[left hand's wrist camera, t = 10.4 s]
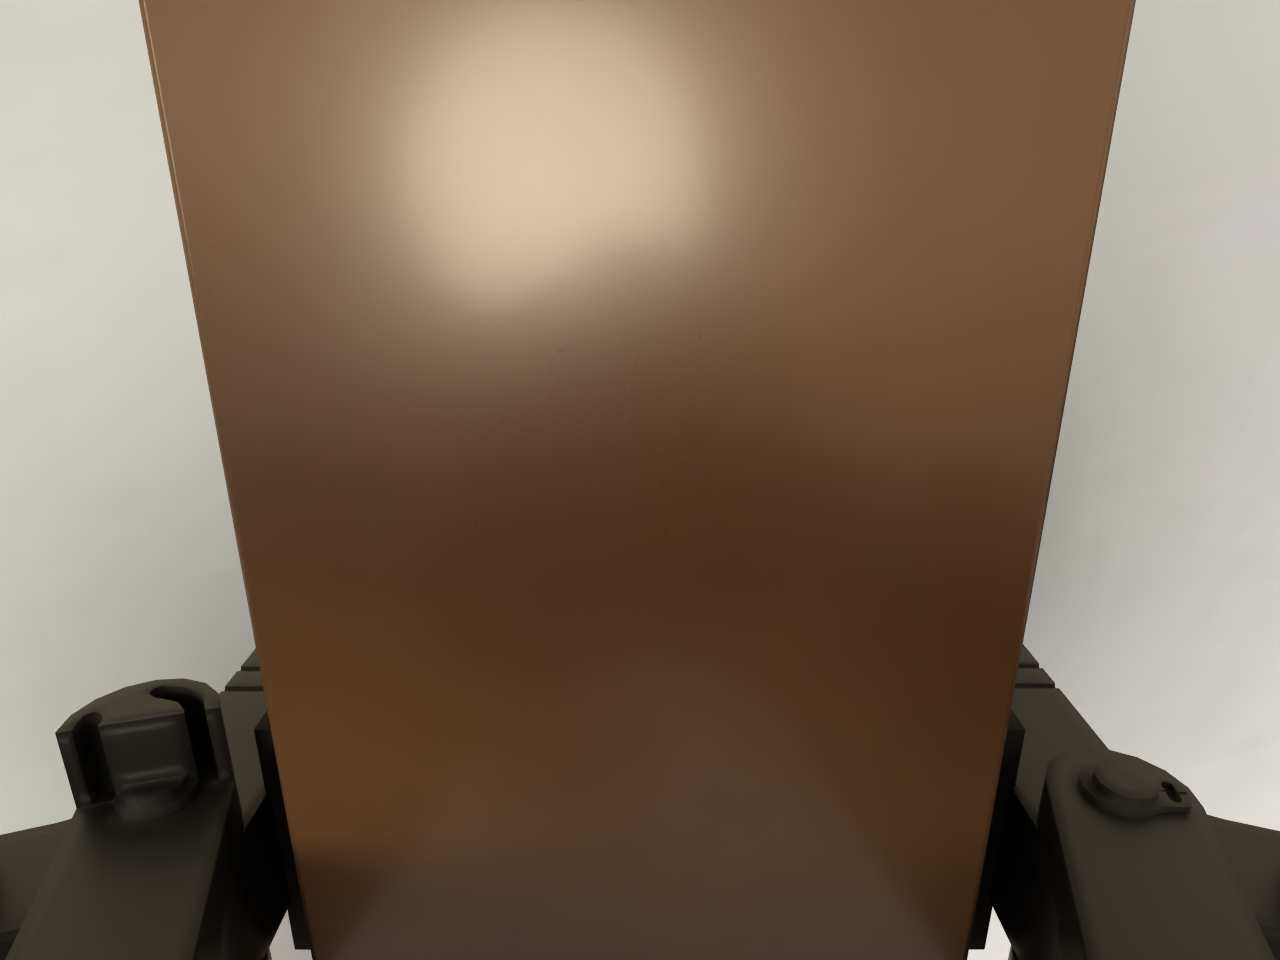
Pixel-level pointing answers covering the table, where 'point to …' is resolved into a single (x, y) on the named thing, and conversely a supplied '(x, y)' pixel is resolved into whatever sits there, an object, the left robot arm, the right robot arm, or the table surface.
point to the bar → (638, 446)
